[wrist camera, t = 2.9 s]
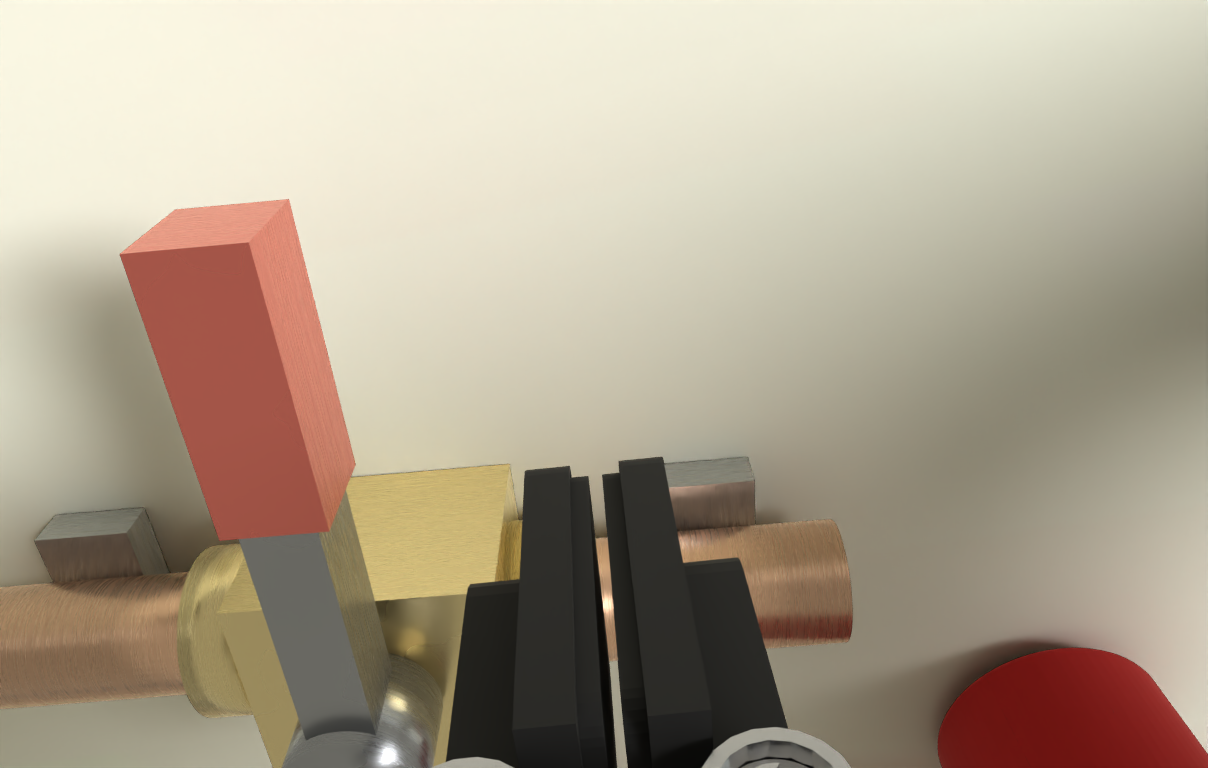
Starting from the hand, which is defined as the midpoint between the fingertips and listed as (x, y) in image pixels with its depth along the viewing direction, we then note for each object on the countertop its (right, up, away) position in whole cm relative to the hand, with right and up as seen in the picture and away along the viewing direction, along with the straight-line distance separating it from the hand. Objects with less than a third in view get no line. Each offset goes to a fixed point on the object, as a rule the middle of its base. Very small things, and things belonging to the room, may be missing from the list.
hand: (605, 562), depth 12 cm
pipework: (-5, -2, +14) cm, 15 cm away
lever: (-6, 0, +7) cm, 9 cm away
